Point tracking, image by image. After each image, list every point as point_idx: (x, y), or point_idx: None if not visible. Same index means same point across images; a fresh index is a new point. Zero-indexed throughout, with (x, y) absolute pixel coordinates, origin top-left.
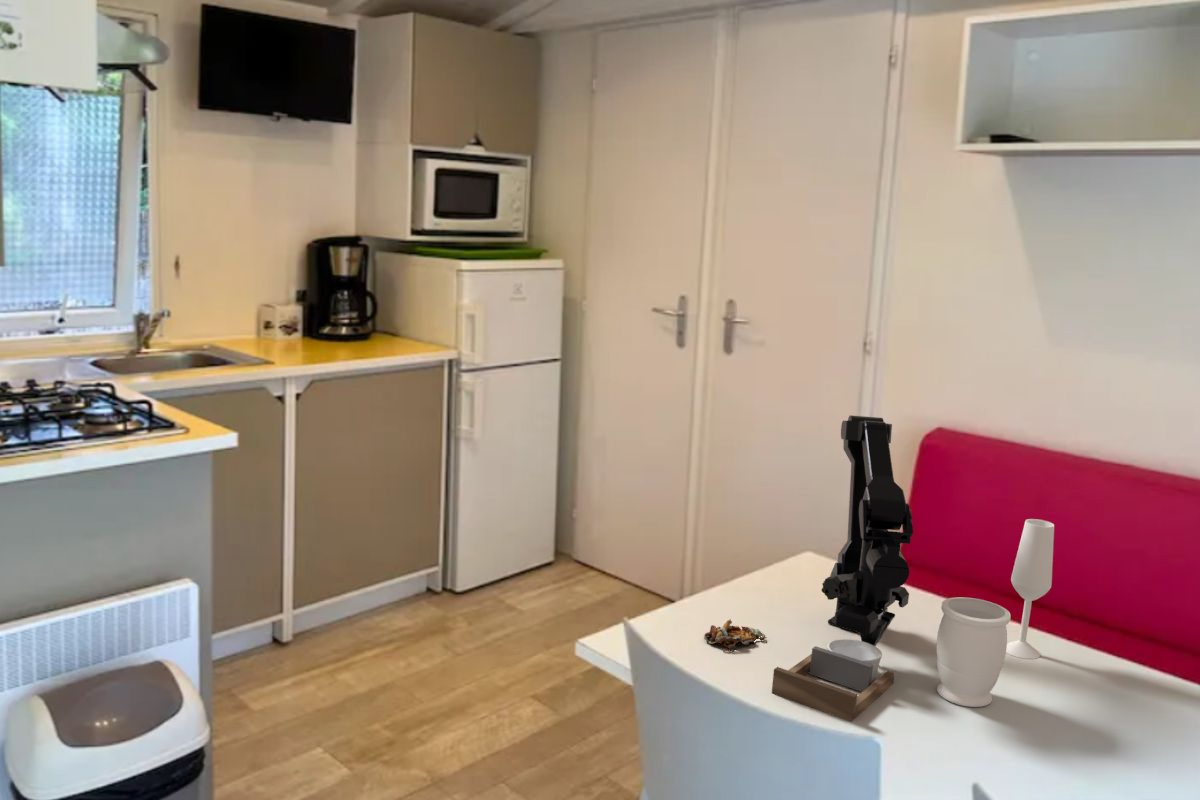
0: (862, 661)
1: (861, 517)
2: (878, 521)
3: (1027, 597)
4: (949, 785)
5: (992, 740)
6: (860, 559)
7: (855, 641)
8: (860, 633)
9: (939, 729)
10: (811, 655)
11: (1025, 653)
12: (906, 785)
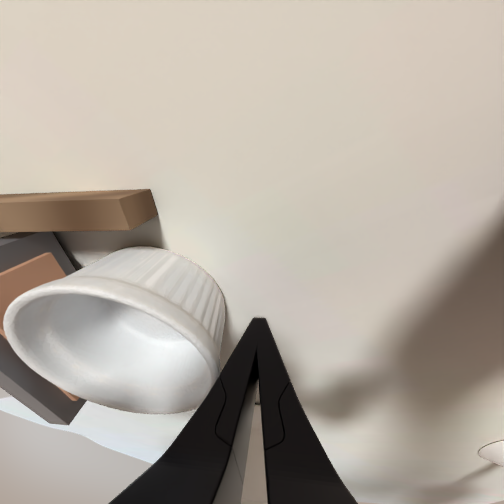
0: (49, 410)
1: None
2: None
3: None
4: (51, 425)
5: (169, 438)
6: None
7: (195, 347)
8: (208, 393)
9: (134, 413)
10: (31, 210)
11: (495, 461)
12: (3, 408)
